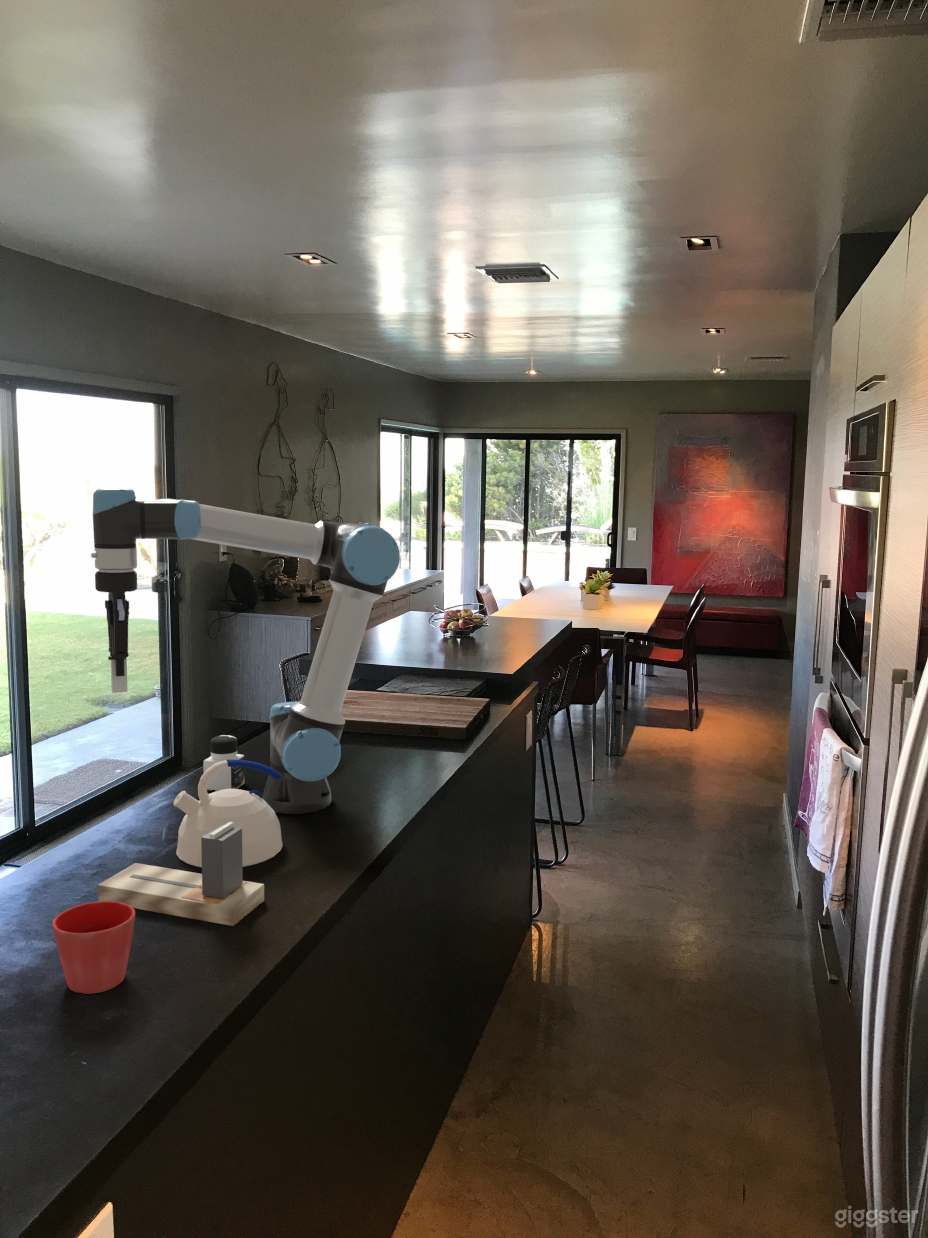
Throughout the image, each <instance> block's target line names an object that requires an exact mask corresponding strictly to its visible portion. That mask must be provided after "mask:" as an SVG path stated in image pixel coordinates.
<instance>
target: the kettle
mask: <svg viewBox="0 0 928 1238" xmlns="http://www.w3.org/2000/svg"><path fill="white" fill-rule="evenodd" d="M224 767H244V768H248V769H252V770H256V771H259V772H262V773H265V774H266V775H268V776H269V775H270V776H271V777H272V778H274V779H280V778H281V777H282V775H281V774H279V773H278V772H277V771H276V770H274V769H272V768H271V766H268V765H265V764H263V763H261V762H258V761H257V762H256V761H251V760H245V759H244V760H224V761H221V762H218V763H215V764H213V765H212V766H211V767H209V768H208V769H207V770H206V771H205V772H204V771H203V774H202V775H201V776H200V779H199V782H198V785H197V796H198V799H199V800H197V799H196V798H195V797H193V796H191V795H190V794H189V793H187V792H186V790H182V791H180V792H179V793H178V794H177V796H176V797H175V799H174V800H173V806H174V807H176V808H177V809H179V810H180V811H182V812H183V813H185V815H184V817H183V818H182V820H181V823H180V826H179V828H178V832H177V833H178V836H177V846H176V847H177V848H176V856H177V857H178V858H179V860H181V861H183V862H184V863H185V864H187V865H190V866H194V867H198V868H202V847H201V837H203V836H204V835H206V834H208V833H209V832H211V831H213V830H214V829H216V828H217V827H219V826H221V825H225V824H227V823H228V822H234V827H237V828H242V868H244V867H249V866H254V865H257V864H260V863H265V862H266V861H268V860H269V859H272V858H274V857H275V856H276V855H277V854H279V852H281V851H282V848H283V841H282V831H281V830H282V829H281V823H280V820H279V819H278V816H277V814H276V812H274V810H273V809H272V808H271V807H270V806H269V805H268V804H267V803H266V802H265V801H264V800H263V793H261V792H260V791H259V790H254V789H253V790H244V789H241V788H240V789H239V788H237V789H223V790H220V791H213V792H211V793H208V790H207V784H208V780H209V779H210V777H211V776H212V774H213V773H215V772H216V771H218V770H219V769H221V768H224ZM257 794H258V795H257Z"/></svg>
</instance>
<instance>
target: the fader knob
mask: <svg viewBox="0 0 928 1238" xmlns="http://www.w3.org/2000/svg"><path fill="white" fill-rule="evenodd" d="M201 847H202V867H201V874H202V895H204V896H210V897H215V898H221V899H224V898H225V897H227V896H228V895H229V894H231V893H232V892H233V891H235V890H236V889H237V888H239V887H240V886H241V885H243V881H244V880H243V878H244V877H243V876H244V875H243V870H244V869H243V867H242V828H237V827H234V822H228V823H227V824H225V825H221V826H219V827H217V828H216V829H214V830H213V831H211V832H209V833H208V834H206V835H204V836H203V837H201Z"/></svg>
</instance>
